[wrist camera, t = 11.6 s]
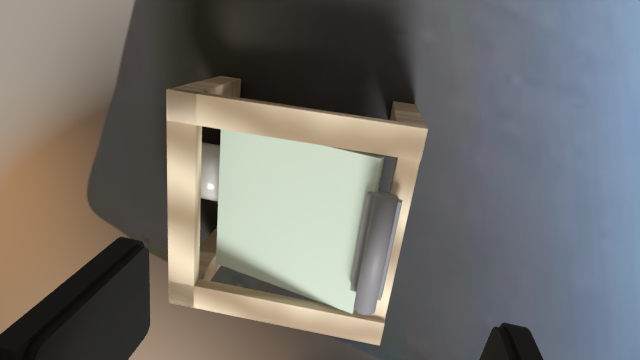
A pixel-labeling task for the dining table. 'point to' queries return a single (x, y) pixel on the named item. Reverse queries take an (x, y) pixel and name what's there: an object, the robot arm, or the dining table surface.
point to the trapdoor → (306, 218)
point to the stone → (210, 171)
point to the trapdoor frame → (285, 123)
